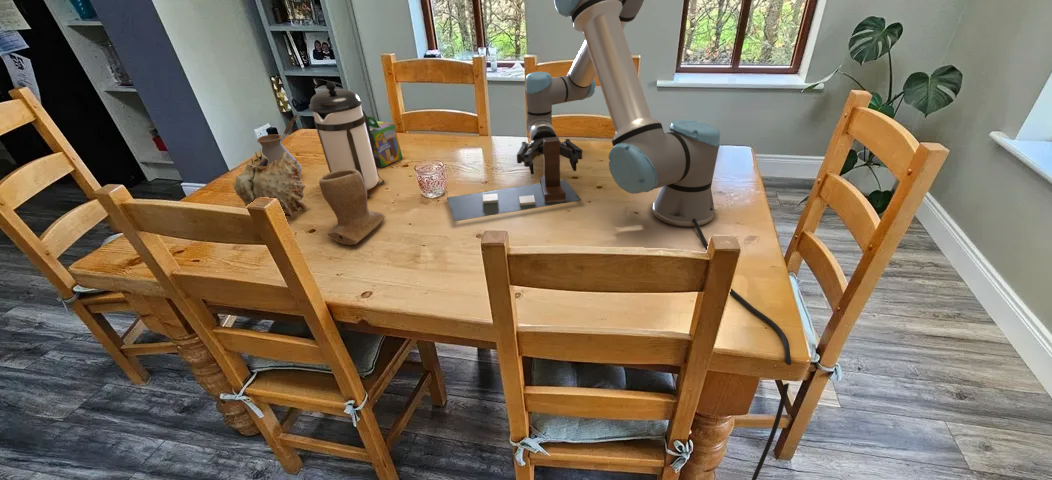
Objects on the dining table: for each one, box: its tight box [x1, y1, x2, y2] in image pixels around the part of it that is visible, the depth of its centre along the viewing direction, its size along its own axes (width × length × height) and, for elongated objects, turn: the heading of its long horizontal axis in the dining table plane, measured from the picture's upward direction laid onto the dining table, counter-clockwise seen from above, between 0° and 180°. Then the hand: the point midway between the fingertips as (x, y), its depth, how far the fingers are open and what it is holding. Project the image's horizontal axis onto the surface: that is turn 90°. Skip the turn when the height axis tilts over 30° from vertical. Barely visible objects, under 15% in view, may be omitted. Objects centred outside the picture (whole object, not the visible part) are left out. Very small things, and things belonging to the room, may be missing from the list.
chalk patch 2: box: [519, 195, 535, 206], centre depth 129 cm, size 4×4×1 cm
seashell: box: [232, 148, 308, 220], centre depth 125 cm, size 18×18×15 cm
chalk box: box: [366, 115, 403, 169], centre depth 154 cm, size 9×9×15 cm
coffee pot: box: [256, 114, 303, 175], centre depth 148 cm, size 21×12×15 cm, turn 172°
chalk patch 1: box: [483, 194, 498, 204], centre depth 130 cm, size 4×4×1 cm
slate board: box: [446, 179, 582, 222], centre depth 131 cm, size 14×34×2 cm, turn 108°
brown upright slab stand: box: [539, 136, 565, 203], centre depth 129 cm, size 12×6×15 cm, turn 8°
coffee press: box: [308, 81, 385, 199], centre depth 133 cm, size 17×16×30 cm
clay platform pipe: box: [318, 169, 386, 246], centre depth 117 cm, size 15×12×15 cm
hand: (553, 167), depth 125 cm, fingers open, 10 cm apart
